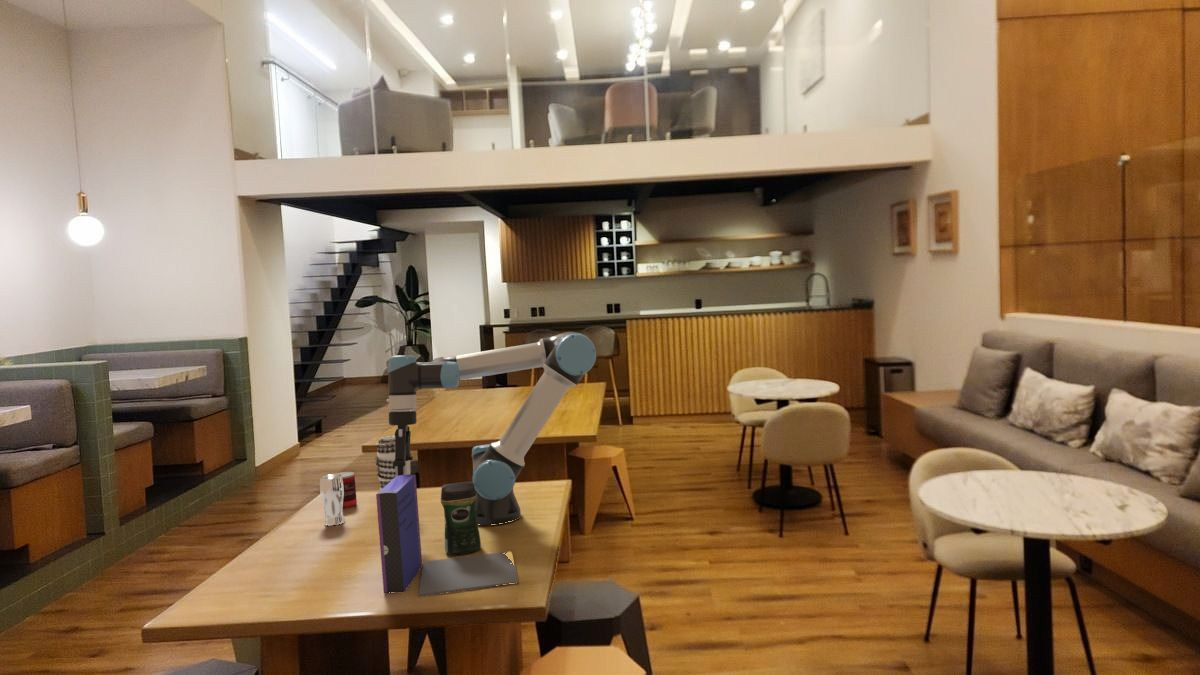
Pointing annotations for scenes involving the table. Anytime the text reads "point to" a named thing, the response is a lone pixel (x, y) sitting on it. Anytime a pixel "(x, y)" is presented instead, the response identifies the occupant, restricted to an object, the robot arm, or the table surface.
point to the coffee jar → (460, 518)
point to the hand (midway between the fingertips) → (403, 487)
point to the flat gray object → (466, 573)
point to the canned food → (349, 489)
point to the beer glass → (332, 498)
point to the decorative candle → (386, 460)
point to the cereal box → (399, 533)
